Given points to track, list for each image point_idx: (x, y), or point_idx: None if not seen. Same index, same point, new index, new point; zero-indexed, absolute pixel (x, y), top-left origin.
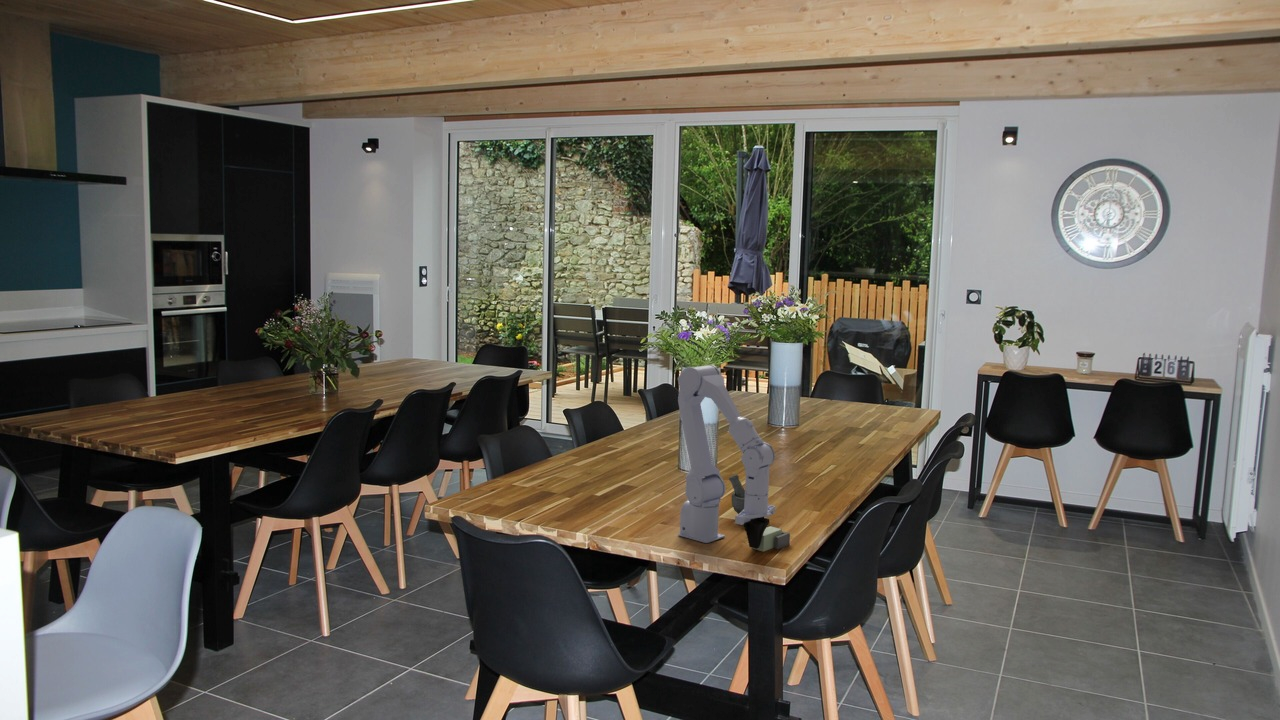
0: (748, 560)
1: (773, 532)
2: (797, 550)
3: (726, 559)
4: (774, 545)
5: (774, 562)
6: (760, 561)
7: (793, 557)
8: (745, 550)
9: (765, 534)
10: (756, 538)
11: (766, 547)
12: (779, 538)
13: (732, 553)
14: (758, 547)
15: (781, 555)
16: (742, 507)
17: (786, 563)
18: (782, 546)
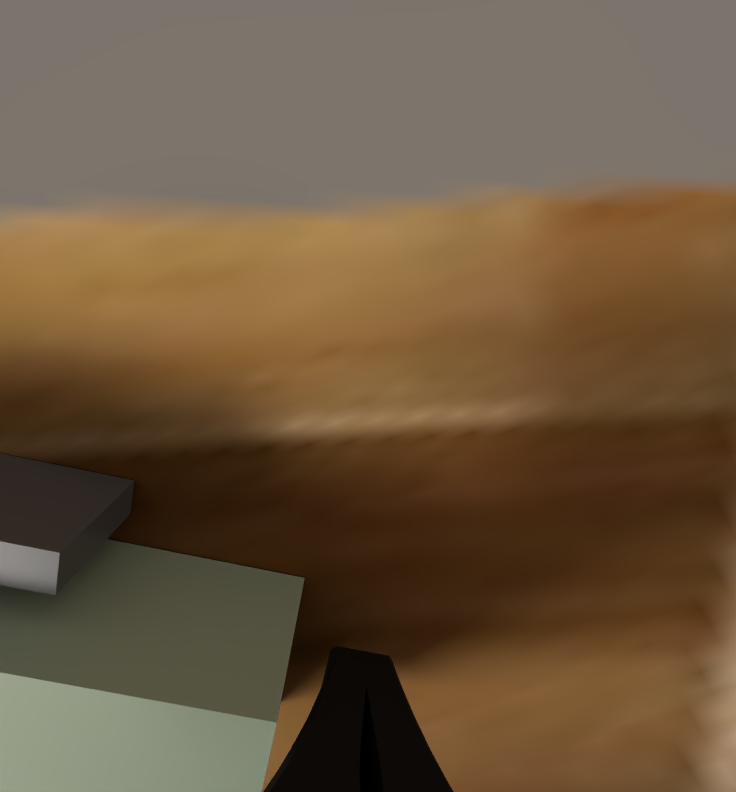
0: (668, 600)
1: (10, 671)
2: (3, 269)
3: (733, 767)
4: None
5: (602, 350)
6: (642, 491)
7: (297, 217)
8: None
9: (201, 729)
10: (431, 763)
11: (243, 586)
12: (31, 535)
13: (531, 785)
14: (345, 650)
15: (311, 370)
16: None
17: (570, 212)
18: (24, 463)
